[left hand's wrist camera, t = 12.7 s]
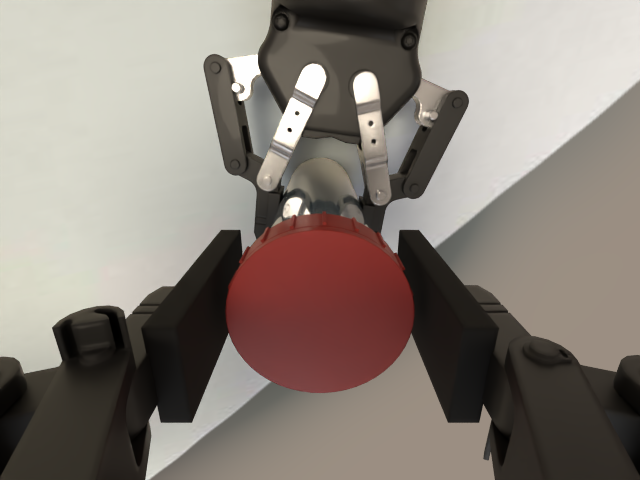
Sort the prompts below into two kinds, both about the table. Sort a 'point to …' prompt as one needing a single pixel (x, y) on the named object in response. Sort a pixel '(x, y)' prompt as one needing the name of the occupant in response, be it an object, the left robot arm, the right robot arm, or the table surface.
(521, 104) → the table surface
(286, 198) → the jar
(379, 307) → the lid
